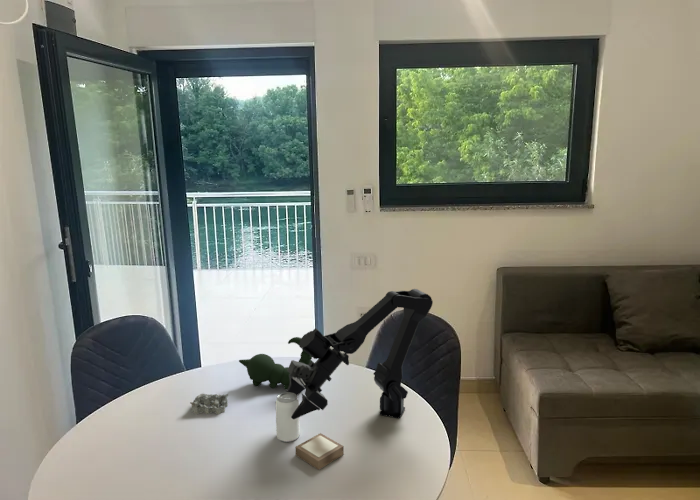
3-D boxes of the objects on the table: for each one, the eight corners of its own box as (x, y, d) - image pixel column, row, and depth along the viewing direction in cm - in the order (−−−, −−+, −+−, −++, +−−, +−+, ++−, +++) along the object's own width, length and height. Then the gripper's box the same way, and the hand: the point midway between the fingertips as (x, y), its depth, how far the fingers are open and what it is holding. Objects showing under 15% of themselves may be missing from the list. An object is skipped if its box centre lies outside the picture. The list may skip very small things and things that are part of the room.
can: (295, 443, 140) (294, 404, 137) (273, 441, 141) (271, 401, 139) (302, 431, 146) (301, 392, 144) (281, 428, 147) (279, 390, 145)
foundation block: (320, 441, 141) (320, 432, 140) (343, 454, 135) (343, 445, 134) (295, 455, 135) (295, 446, 134) (318, 469, 129) (318, 460, 128)
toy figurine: (311, 384, 178) (241, 376, 179) (315, 334, 174) (243, 326, 175) (307, 397, 169) (233, 389, 170) (312, 344, 165) (236, 336, 166)
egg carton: (189, 415, 155) (188, 402, 155) (197, 402, 163) (197, 391, 162) (223, 416, 155) (222, 403, 154) (230, 403, 162) (229, 391, 161)
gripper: (294, 339, 149) (259, 381, 147) (316, 364, 132) (275, 411, 130) (320, 360, 154) (285, 401, 152) (344, 387, 137) (305, 432, 135)
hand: (287, 410), depth 142 cm, fingers open, 9 cm apart
